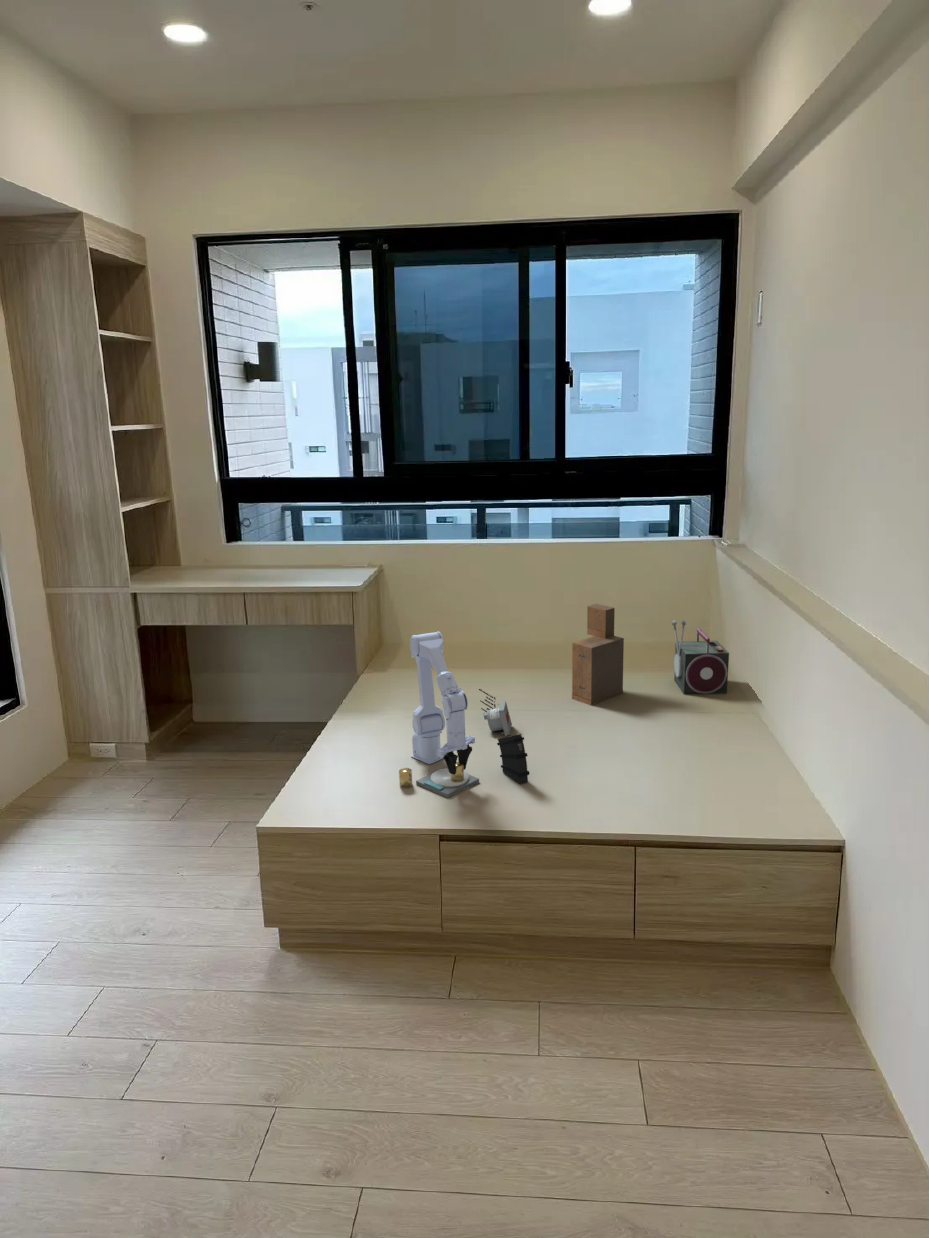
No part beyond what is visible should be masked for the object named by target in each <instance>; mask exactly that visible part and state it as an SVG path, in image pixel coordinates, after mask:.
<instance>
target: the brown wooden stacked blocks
mask: <svg viewBox="0 0 929 1238" xmlns="http://www.w3.org/2000/svg"><path fill="white" fill-rule="evenodd" d="M586 608H587V611H586V612H587V613H586V616H587V617H586V618H587V619H586V629H587V630H586V634H587V635H588V636H590V637H588V638H584V639H581V640H577V641H574V642H572V643H571V644H572V646H571V647H572V649H571V650H572V656H571V657H572V659H571V661H572V664H571V665H572V667H571V670H572V672H571V675H572V676H571V677H572V678H571V681H572V682H571V684H572V685H571V690H572V691H571V692H572V693H571V700H575V701H577V702H580V703H583V704H586V705H588V706H593V705H596V704H598V703H601V702H604V701H607V700H610V699H612V698H614V697H618V696H619V695H620V696H621V695H623V694H624V651H625V650H624V649H625V648H624V645H625V642H624V640H625V639H624V637H621V636H616V635H615V607H613V606H608V605H604V604H599V603H595V604H590V605H587V607H586Z"/></svg>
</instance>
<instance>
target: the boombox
mask: <svg viewBox="0 0 929 1238" xmlns="http://www.w3.org/2000/svg"><path fill="white" fill-rule="evenodd" d="M677 624H678V622H677V620H675V619H674V620H672V621H671V625H672V626H673V631H674V636H675V638H674V639H675V647H674V648H675V649H674V650H675V651H674V657H673V666H674V667H673V669H674V677H673V678H674V680H673V681H674V682H675V684H676V685H677V687H678V689H679V690H680V692H681V693H682V694H683V696H684V695H718V694H719V695H722V694H723V695H725V694H728V681H729V663H730V662H729V659H730V658H729V657H730V652H729V651H728V649H726V648H725V647H724V646H723V645H722V644H721V643H720V642H719V641H718V640H710V637H709V636H708V635H707V634H706V633H705V632H704V631H703V630H702V629H701V628H700V627H698V626H697V627H696V640H689V641H688V640H687V641H685V640H684V641H683V638H684V632H685V631H684V630H685V626H686V625H687V621H686V620H684V619H683V620H681V623H680V624H681V625H682V626H681V633H680V641H679V639H678V634H677V633H678V632H677V626H676V625H677ZM700 637H701V638H702V639H703V640H699V639H700Z"/></svg>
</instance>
